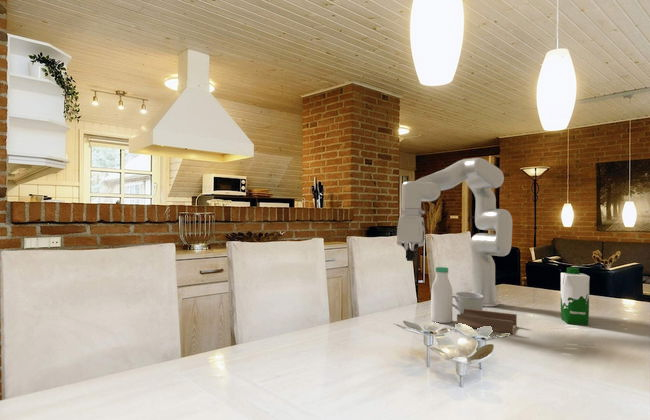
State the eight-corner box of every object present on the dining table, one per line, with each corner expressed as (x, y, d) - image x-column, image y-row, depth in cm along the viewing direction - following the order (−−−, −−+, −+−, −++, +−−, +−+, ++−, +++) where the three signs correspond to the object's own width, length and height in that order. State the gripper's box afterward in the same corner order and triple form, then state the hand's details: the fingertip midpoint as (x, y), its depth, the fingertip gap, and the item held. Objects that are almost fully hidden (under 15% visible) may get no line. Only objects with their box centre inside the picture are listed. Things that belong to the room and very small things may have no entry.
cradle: (464, 320, 160) (464, 308, 160) (516, 326, 151) (516, 314, 151) (456, 327, 149) (457, 314, 149) (512, 335, 140) (512, 321, 140)
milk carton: (583, 320, 162) (583, 267, 162) (592, 326, 153) (592, 270, 153) (558, 318, 164) (558, 266, 164) (565, 324, 155) (565, 269, 155)
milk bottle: (453, 324, 154) (453, 269, 154) (431, 323, 155) (431, 268, 155) (451, 319, 161) (451, 266, 161) (430, 318, 163) (430, 265, 163)
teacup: (479, 311, 175) (479, 292, 175) (486, 317, 164) (486, 297, 164) (444, 310, 177) (445, 291, 177) (450, 316, 166) (450, 296, 166)
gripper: (432, 213, 164) (431, 261, 164) (396, 213, 172) (395, 258, 171) (427, 213, 158) (426, 262, 157) (389, 212, 165) (388, 260, 165)
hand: (410, 260), depth 164 cm, fingers closed
